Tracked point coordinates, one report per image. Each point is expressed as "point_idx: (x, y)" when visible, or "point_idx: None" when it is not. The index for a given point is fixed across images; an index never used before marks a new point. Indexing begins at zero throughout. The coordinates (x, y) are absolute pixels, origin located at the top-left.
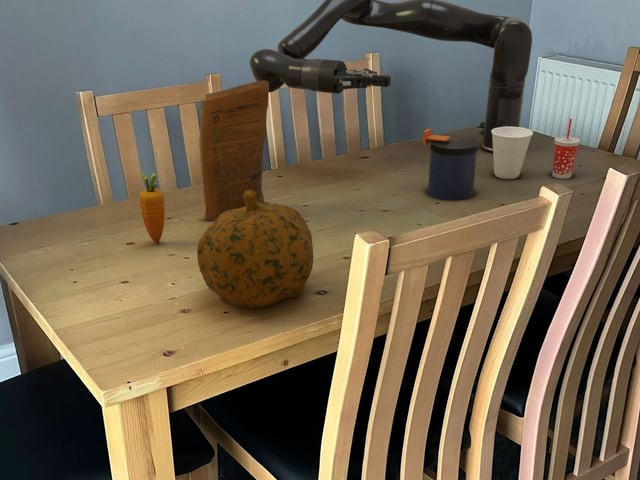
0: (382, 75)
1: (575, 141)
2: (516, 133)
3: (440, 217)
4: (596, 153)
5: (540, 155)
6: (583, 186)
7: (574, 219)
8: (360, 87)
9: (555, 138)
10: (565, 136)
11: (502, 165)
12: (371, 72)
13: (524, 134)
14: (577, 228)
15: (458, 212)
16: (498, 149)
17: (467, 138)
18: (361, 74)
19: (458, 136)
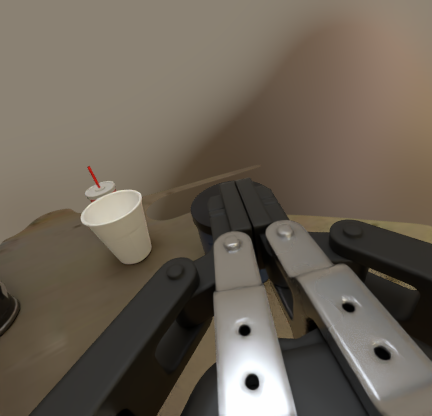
0: (225, 205)
1: (104, 183)
2: (89, 219)
3: (330, 224)
4: (23, 235)
5: (32, 268)
6: (146, 200)
7: (234, 174)
8: (388, 287)
9: (96, 195)
10: (85, 194)
11: (147, 236)
12: (181, 293)
13: (95, 210)
14: (252, 166)
15: (298, 222)
16: (140, 224)
17: (197, 202)
18: (346, 273)
19: (193, 213)
